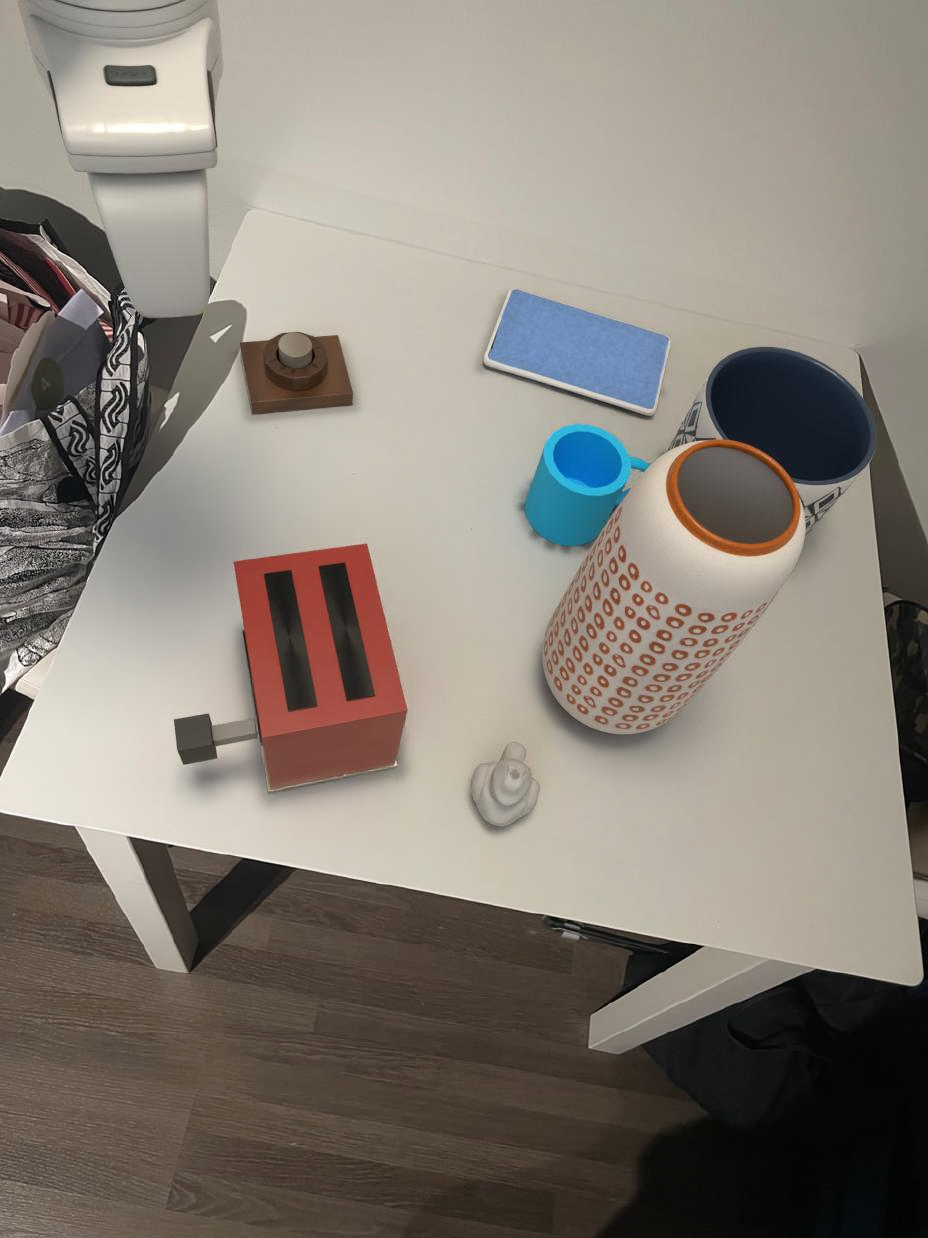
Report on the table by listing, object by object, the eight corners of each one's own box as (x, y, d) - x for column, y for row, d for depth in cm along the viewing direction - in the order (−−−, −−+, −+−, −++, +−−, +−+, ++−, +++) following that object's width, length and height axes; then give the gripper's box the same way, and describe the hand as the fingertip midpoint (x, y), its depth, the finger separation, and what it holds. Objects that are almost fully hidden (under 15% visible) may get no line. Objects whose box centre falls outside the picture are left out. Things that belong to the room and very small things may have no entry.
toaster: (268, 794, 68) (258, 740, 57) (242, 633, 74) (229, 558, 63) (397, 767, 70) (411, 712, 60) (362, 614, 77) (369, 539, 66)
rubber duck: (458, 821, 69) (474, 791, 62) (479, 746, 72) (496, 710, 65) (523, 841, 69) (545, 814, 62) (540, 765, 72) (564, 732, 65)
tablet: (479, 367, 93) (481, 358, 91) (508, 291, 99) (510, 282, 98) (651, 422, 93) (656, 414, 91) (669, 343, 99) (673, 334, 98)
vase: (693, 743, 75) (874, 579, 51) (546, 758, 73) (662, 593, 48) (655, 609, 81) (800, 404, 57) (518, 618, 79) (608, 408, 54)
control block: (252, 414, 85) (249, 389, 82) (240, 354, 89) (238, 328, 86) (352, 404, 88) (353, 380, 85) (337, 346, 91) (338, 321, 88)
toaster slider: (183, 765, 62) (177, 751, 59) (179, 734, 63) (173, 719, 60) (259, 750, 63) (257, 736, 61) (254, 720, 64) (252, 705, 62)
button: (281, 370, 84) (281, 357, 83) (276, 346, 86) (276, 333, 84) (314, 368, 85) (314, 355, 84) (309, 344, 86) (308, 330, 85)
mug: (536, 550, 83) (556, 500, 75) (515, 481, 86) (533, 427, 79) (651, 537, 85) (681, 487, 78) (626, 471, 89) (653, 417, 82)
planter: (662, 427, 92) (716, 324, 80) (804, 473, 92) (880, 377, 80) (637, 544, 85) (693, 450, 72) (792, 594, 85) (874, 509, 72)
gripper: (43, -92, 45) (102, 158, 57) (64, 164, 36) (128, 394, 48) (170, -87, 46) (201, 155, 58) (220, 160, 38) (244, 384, 50)
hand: (168, 265), depth 53 cm, fingers closed
